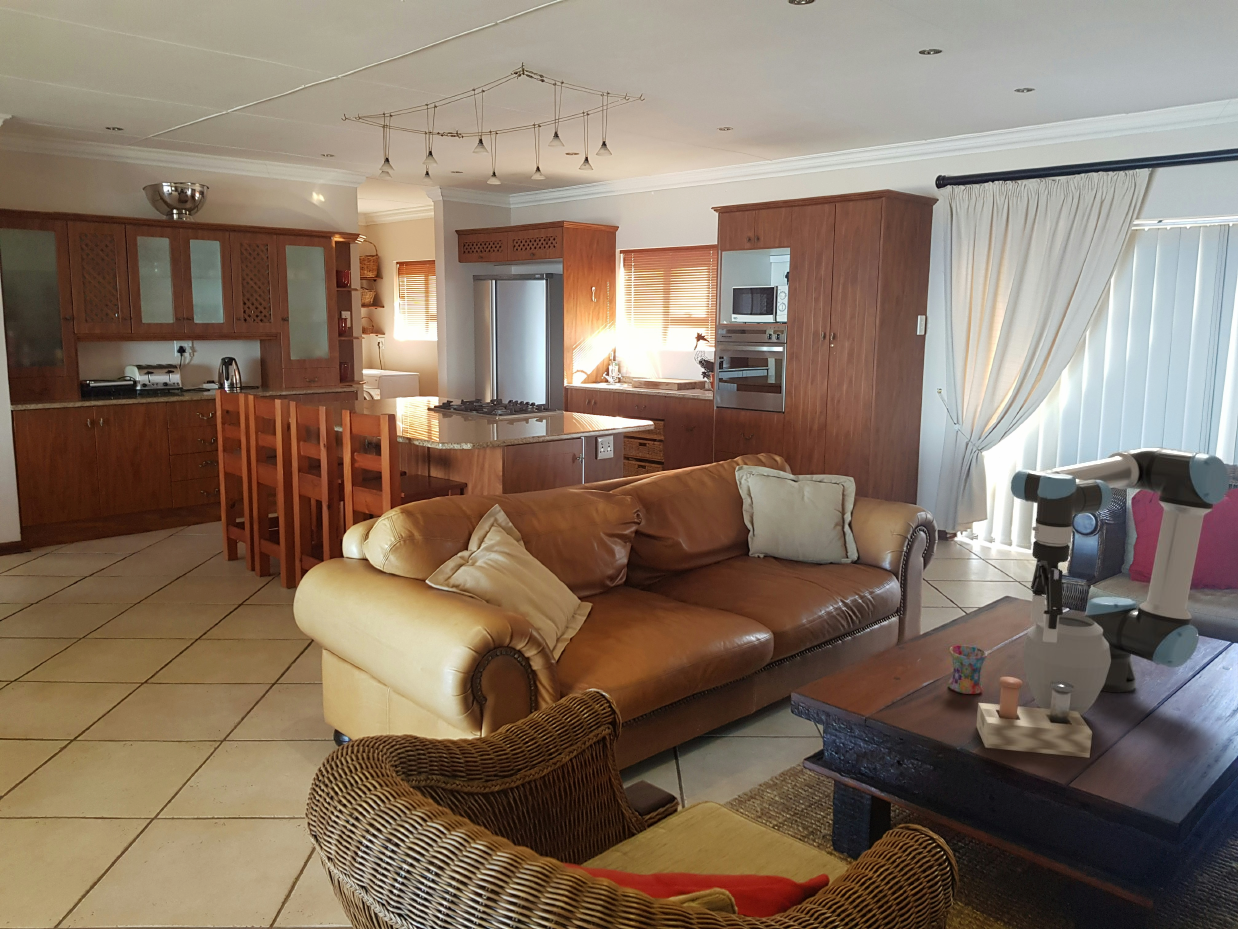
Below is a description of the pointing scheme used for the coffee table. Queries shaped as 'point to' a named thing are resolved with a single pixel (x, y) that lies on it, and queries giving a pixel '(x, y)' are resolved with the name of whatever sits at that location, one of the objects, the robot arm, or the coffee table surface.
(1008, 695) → the terracotta plug
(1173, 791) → the coffee table surface
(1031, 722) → the block
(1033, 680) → the vase
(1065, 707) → the grey plug
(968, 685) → the mug
